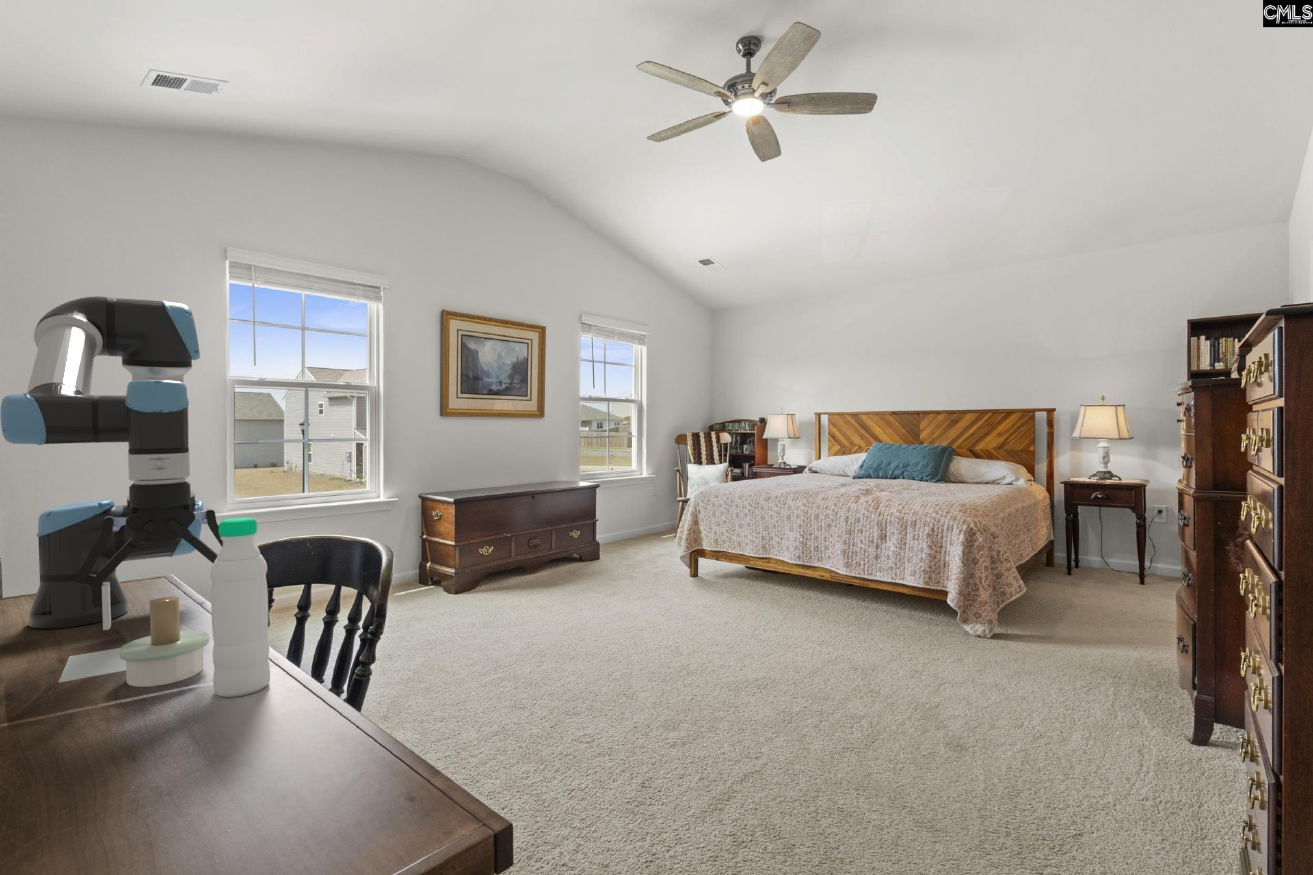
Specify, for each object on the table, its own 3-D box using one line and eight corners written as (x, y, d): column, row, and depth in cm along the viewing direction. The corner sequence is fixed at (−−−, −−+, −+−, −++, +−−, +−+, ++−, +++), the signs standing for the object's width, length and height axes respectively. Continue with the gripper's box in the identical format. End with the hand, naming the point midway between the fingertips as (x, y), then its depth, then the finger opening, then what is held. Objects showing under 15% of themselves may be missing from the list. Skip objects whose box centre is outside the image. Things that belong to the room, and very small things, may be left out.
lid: (121, 646, 103) (120, 598, 103) (206, 632, 110) (205, 587, 110) (118, 666, 94) (116, 614, 94) (210, 650, 101) (209, 601, 101)
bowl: (128, 674, 103) (127, 646, 103) (201, 660, 109) (201, 634, 109) (125, 694, 96) (124, 663, 95) (204, 678, 101) (203, 649, 101)
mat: (69, 658, 110) (69, 656, 110) (173, 641, 119) (173, 639, 119) (58, 684, 99) (58, 682, 99) (173, 663, 108) (173, 661, 108)
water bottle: (203, 693, 96) (198, 521, 95) (252, 676, 102) (247, 514, 101) (231, 702, 92) (226, 524, 92) (280, 684, 99) (276, 517, 98)
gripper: (46, 489, 91) (52, 642, 91) (257, 477, 106) (261, 609, 106) (54, 485, 97) (59, 628, 98) (252, 475, 112) (256, 599, 112)
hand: (164, 619), depth 102 cm, fingers open, 13 cm apart
